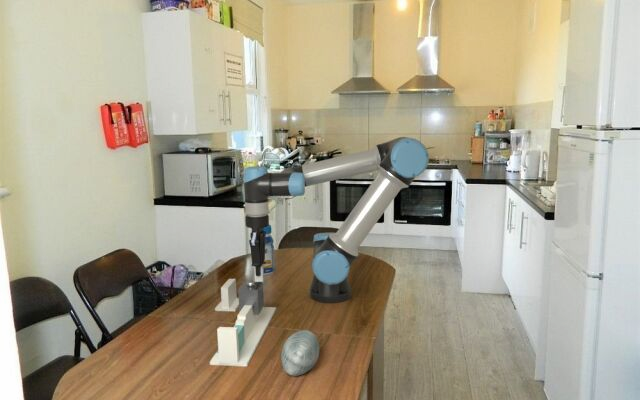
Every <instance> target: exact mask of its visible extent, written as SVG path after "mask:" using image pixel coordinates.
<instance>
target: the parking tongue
mask: <svg viewBox="0 0 640 400" xmlns="http://www.w3.org/2000/svg"><path fill="white" fill-rule="evenodd" d="M220 297H221V301H220V302H219V303H218V304H217V305H216V307H215V308H214V311H215V312H236V311H237V310H238V309H239V297H237V280H236V278H229V279H227V280H226V282H225V283H224V284H223V285H222V286H221V287H220Z"/></svg>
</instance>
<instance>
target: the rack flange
mask: <svg viewBox="0 0 640 400" xmlns="http://www.w3.org/2000/svg"><path fill="white" fill-rule="evenodd" d="M238 312H239V311H238ZM276 312H277V307H276V306H275V307H271V306H269V307H268V306H264V307H263V309H262V310H261V312H260V314H259V315H254V306H253V305H244V307H243V308H242V310H241V311H240V312H239V313H238V314H237V318H236V320H235V324H234V326H233V327H231V326H228V327H227V326H219V327H218V328H217V329H216V330H217V331H216V333H217V348H218V349H217V351H216V352H215V354H214V355H213V356H212V358H211V359H210V361H209V365H210V366H226V367H227V366H229V367H230V366H231V367H248V366H249V363H250V362H251V360H252V358H253V356H254V354H255V352H256V350H257V348H258V346H259V344H260V343H261V340H262V338H263V336H264V335H265V332H266V331H267V328H268V327H269V325H270V324H271V323H270V322H271V321H272V319H273V317H274V315H275V313H276Z"/></svg>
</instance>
